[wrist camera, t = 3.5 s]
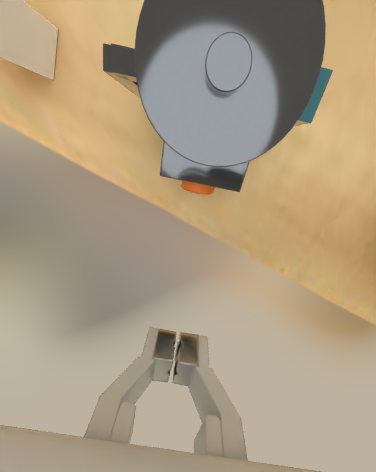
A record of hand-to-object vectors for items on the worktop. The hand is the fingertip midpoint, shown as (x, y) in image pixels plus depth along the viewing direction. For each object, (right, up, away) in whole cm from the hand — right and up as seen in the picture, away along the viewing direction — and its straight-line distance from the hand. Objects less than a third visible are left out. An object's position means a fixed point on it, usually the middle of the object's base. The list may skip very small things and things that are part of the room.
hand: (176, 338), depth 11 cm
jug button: (+2, +12, +10) cm, 16 cm away
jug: (+3, +24, +18) cm, 30 cm away
